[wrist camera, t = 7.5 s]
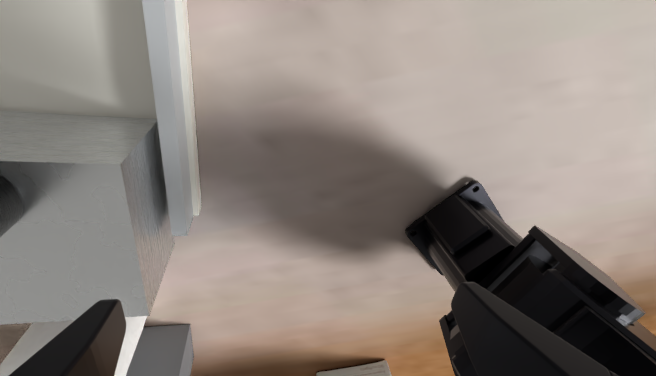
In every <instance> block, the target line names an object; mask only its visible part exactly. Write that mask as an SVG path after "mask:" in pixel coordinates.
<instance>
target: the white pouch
mask: <svg viewBox="0 0 656 376" xmlns="http://www.w3.org/2000/svg"><path fill="white" fill-rule="evenodd" d="M146 318H147V316H138V317H125V320H126V332H125V336H124V340H123V344H122V348H121V351H120V355H119V359H118V363H117V367H116V371H115V374H114V376H126V374H127V370H128V368H129V365H130V363H131V360H132V357H133V355H134V351H135V349H136V346H137V343H138V340H139V338H140V335H141V333H142V330H143V327H144V324H145V321H146ZM73 321H75V320H70V321H53V322H36V323H32V324H31V325H30V327H29V328H28V329H27V331H26V332H25V333H24V334H23V336H22V337H21V338H20V340H19V341H18V342H17V344H16V345H15V346H14V347H13V349H12V350H11V352H10V353H9V354H8V355H7V356H6V358H5V359H4V360H3V362H2V363H1V364H0V376H9V375H10V374H11V373H12V372H13V371H15V370H16V369H17V368H18V367H19V366H21V365H22V364H23V363H24V362H25V361H27V360H28V359H29V358H30V357H31V356H33V355H34V354H35V353H36V352H37V351H39V350H40V349H41V348H42V347H43V346H45V345H46V344H47V343H48V342H49V341H51V340H52V339H53V338H54V337H55V336H57V335H58V334H59V333H60V332H61V331H63V330H64V329H65V328H66V327H67V326H69V325H70V324H71V323H72V322H73Z"/></svg>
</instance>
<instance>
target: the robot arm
mask: <svg viewBox="0 0 656 376" xmlns="http://www.w3.org/2000/svg"><path fill="white" fill-rule="evenodd" d="M475 186H476V188H475V189H473V188H474V187H475ZM412 231H414V232H413V233H411V232H412ZM405 233H406V235H407V236H408V238H409V239H410V240H411V241H412V242H413V243H414V245H415V246H416V247H417V248H418V249H419V250H420V251H421V253H422V254H423V255H424V256H425V257H426V258H427V259H428V260H429V262H430V263H431V264H432V265H433V266H434V267H435V268H436V270H437V271H438V272H439V273H440V274H441V275H444V276H445V278H446V279H447V281H448V282H449V284H450V285H451V287H452V288H453V290H454V291H455V294H454V297H453V299H452V303H451V308H452V311H451V312H450V313H449V314H448V315H444V316H443V317H442V318H441V319H440V320H439V322H440V325H441V329H442V332H443V336H444V339H445V343H446V346H447V350H448V353H449V357H450V360H451V364H452V367H453V371H454V373H455V376H656V336H655V335H654V334H652V333H651V332H650V331H649V330H647V329H646V328H645V327H644V326H642V325H641V324H640V323H639V322H638V321H637V320H638V319H639V318H640V317H642V316H643V315H644V314H646V313H645V311H644V310H643V309H642V308H641V307H640V306H639V305H638V304H637V303H636V302H635V301H634V300H633V299H632V298H631V297H630V296H629V295H628V294H627V293H625V292H624V291H623V290H622V289H621V288H620V287H619V286H618V285H617V284H616V283H615V282H614V281H613V280H612V279H611V278H610V277H609V276H608V275H607V274H605V273H604V272H603V271H601V270H600V269H599V268H597V267H596V266H595V265H593V264H592V263H591V262H589V261H588V260H587V259H585V258H584V257H583V256H581V255H580V254H579V253H578V252H576V251H575V250H573V249H572V248H570V247H568V246H567V245H565V244H564V243H562V242H560V241H559V240H557V239H556V238H554V237H552V236H551V235H549V234H548V233H546V232H545V231H543V230H541V229H540V228H538V227H537V226H534V227H533V228H532V229H531V230H530V231H529V234H528V235H527V236H526V237H525V238H524V239H523V238H522V237H521V236H520V235H518V234H517V233H516V232H515V231H514V230H513V229H512V228H511V227H510V226H508V225H507V224H506V223H505V222H504V221H503V219H502V217H501V216H500V214H499V212H498V211H497V209H496V207H495V206H494V204H493V202H492V201H491V199H490V198H489V196H488V194H487V193H486V191H485V189H484V188H483V186H482V185H481V184H480V183H479V182H478V181H472V182H470V183H468V184H467V185H466V186H464V187H463V188H461V189H460V190H459V191H457V192H456V193H454V194H453V195H452V196H450V197H449V198H448V199H446V200H445V201H443V202H442V203H441V204H439V205H438V206H436V207H435V208H434V209H432V210H431V211H429V212H428V213H427V214H425V215H424V216H422V217H421V218H420V219H418V220H417V221H416V222H414V223H413V224H411V225H410V226H409V227H407V228H406V230H405ZM125 332H126V320H125V316H124V312H123V308H122V303H121V301H120V300H119V299H104V300H100V301H98V302H96V303H95V304H94V305H93V306H91V307H90V308H89V309H88V310H87V311H85V312H84V313H83V314H82V315H81V316H79V317H78V318H77V319H76V320H75V321H73V322H72V323H71V324H70V325H69V326H67V327H66V328H65V329H64V330H63V331H61V332H60V333H59V334H58V335H57V336H55V337H54V338H53V339H52V340H51V341H49V342H48V343H47V344H46V345H45V346H43V347H42V348H41V349H40V350H39V351H37V352H36V353H35V354H34V355H33V356H31V357H30V358H29V359H28V360H27V361H25V362H24V363H23V364H22V365H21V366H19V367H18V368H17V369H16V370H15V371H13V372H12V373H11V374H10V375H9V376H114V374H115V371H116V367H117V363H118V359H119V355H120V351H121V348H122V344H123V340H124V336H125Z"/></svg>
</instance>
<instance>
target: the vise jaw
mask: <svg viewBox="0 0 656 376" xmlns="http://www.w3.org/2000/svg"><path fill="white" fill-rule="evenodd" d="M173 247H174V237H173V236H172V232H171V224H170V216H169V208H168V200H167V192H166V185H165V177H164V169H163V161H162V153H161V145H160V138H159V130H158V122H157V119H146V118H128V117H110V116H92V115H74V114H56V113H38V112H20V111H2V110H0V325H2V324H19V323H36V322H53V321H70V320H76V319H77V318H78V317H79V316H81V315H82V314H83V313H84V312H85V311H87V310H88V309H89V308H90V307H91V306H93V305H94V304H95V303H96V302H98V301H100V300H104V299H119V300H120V301H121V303H122V308H123V312H124V316H125V317H138V316H149V315H150V312H151V310H152V307H153V304H154V301H155V298H156V295H157V292H158V290H159V287H160V284H161V281H162V278H163V275H164V273H165V270H166V267H167V264H168V261H169V258H170V255H171V253H172V250H173Z"/></svg>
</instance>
